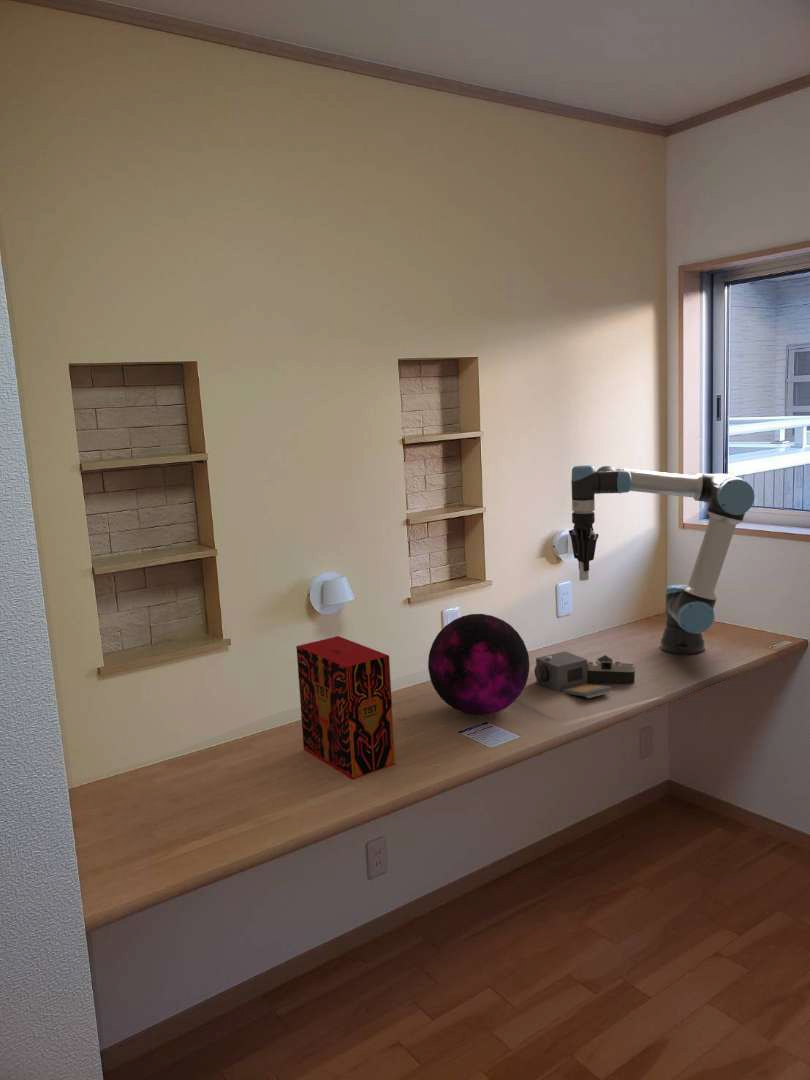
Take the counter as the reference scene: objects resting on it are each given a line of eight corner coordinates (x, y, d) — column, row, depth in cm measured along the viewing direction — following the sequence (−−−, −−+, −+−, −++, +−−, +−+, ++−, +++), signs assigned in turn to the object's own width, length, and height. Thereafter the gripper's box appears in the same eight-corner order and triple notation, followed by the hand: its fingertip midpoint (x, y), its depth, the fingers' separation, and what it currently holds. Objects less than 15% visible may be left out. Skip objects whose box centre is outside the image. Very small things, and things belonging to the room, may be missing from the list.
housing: (565, 677, 293) (565, 648, 291) (587, 686, 283) (587, 657, 282) (532, 685, 287) (531, 656, 285) (553, 695, 277) (553, 665, 276)
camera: (632, 682, 289) (633, 652, 288) (636, 690, 280) (637, 659, 279) (582, 680, 291) (583, 651, 290) (585, 688, 282) (586, 657, 281)
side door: (585, 682, 283) (611, 686, 271) (586, 688, 283) (612, 692, 271) (560, 689, 278) (585, 693, 267) (561, 694, 278) (586, 698, 267)
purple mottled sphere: (409, 716, 266) (405, 619, 261) (472, 687, 287) (469, 598, 282) (489, 740, 246) (486, 636, 240) (550, 707, 267) (548, 611, 262)
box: (303, 750, 245) (296, 646, 240) (344, 736, 253) (338, 635, 247) (352, 779, 225) (345, 667, 220) (394, 764, 233) (389, 655, 228)
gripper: (562, 510, 302) (563, 578, 306) (587, 515, 290) (587, 584, 295) (579, 508, 305) (580, 575, 309) (604, 512, 294) (605, 581, 298)
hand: (583, 579), depth 302 cm, fingers closed
